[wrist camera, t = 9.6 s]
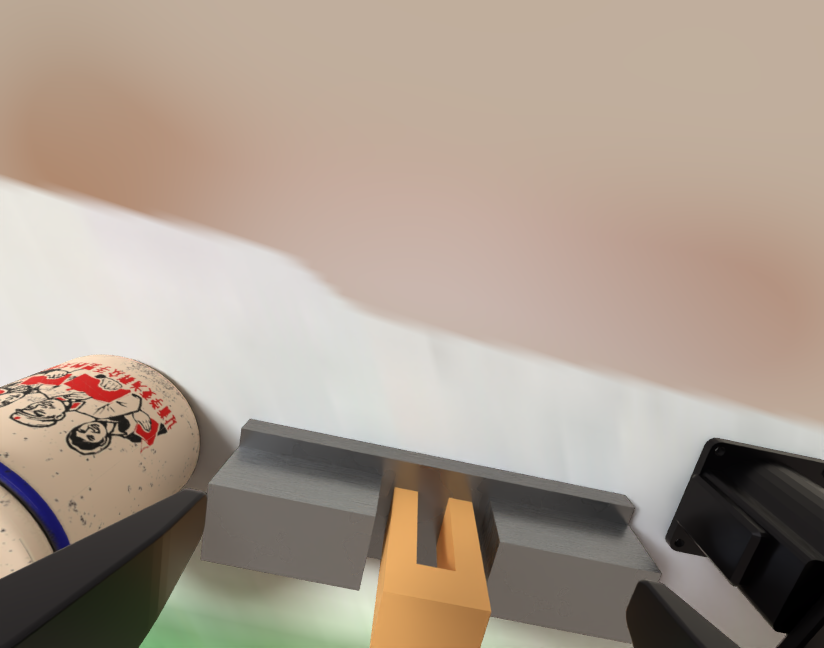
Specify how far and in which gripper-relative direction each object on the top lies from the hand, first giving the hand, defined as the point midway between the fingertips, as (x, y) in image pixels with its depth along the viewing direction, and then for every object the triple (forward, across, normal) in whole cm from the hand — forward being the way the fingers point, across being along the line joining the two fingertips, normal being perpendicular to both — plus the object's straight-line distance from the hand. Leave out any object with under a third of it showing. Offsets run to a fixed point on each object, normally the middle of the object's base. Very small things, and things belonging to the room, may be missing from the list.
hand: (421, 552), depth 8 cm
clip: (+11, -2, +8) cm, 14 cm away
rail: (+12, -2, +8) cm, 15 cm away
